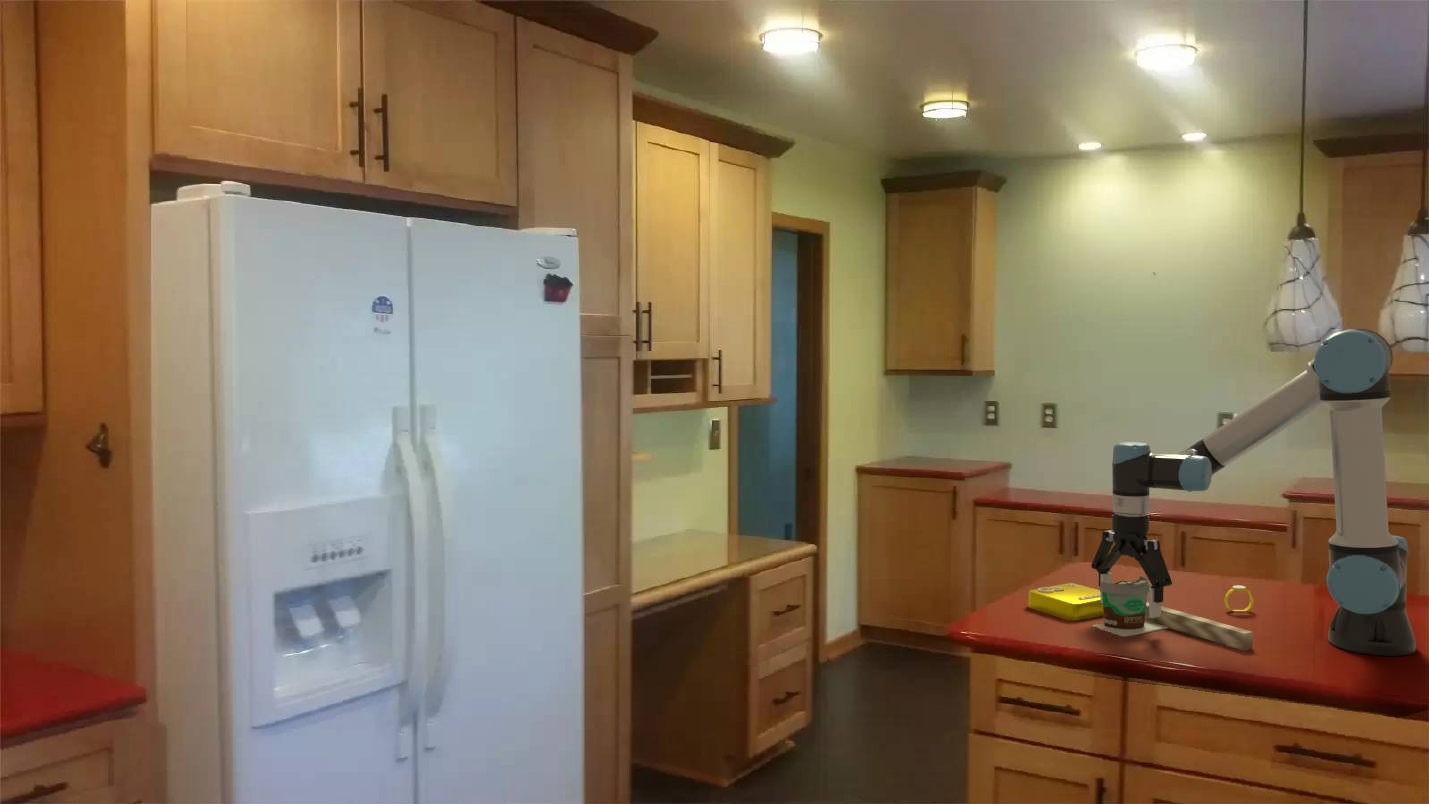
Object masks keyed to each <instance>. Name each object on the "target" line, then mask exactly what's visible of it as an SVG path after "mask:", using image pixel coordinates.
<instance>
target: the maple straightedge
mask: <svg viewBox="0 0 1429 804" xmlns="http://www.w3.org/2000/svg"><path fill="white" fill-rule="evenodd" d="M1145 620H1146V621H1150V622H1153V623H1156V624H1159V625H1163V626H1166V627H1168V628H1167V629H1170V630H1173V631H1176V632H1178V633H1181V634H1186V635H1189V636H1192V637H1194V638H1199V639H1202V640H1205V641H1209V642H1211V643H1215V644H1218V645H1221V646H1224V647H1225V646H1228V647H1231V648H1234V649H1237V650H1241V651H1243V652H1244V651H1248V650H1252V649H1253V645H1254V644H1253V640H1254V639H1253V638H1254V637H1253V635H1254V632H1253V631H1251V630H1248V629H1244V628H1241V627H1236V626H1233V625H1231V624H1230V625H1229V624H1226V623H1222V622H1220V621H1216V620H1212V619H1209V618H1205V617H1203V616H1202V617H1201V616H1198V615H1194V614H1190V613H1187V612H1183V611H1180V610H1176V609H1172V608H1169V607H1167V606H1162V605H1161V616H1160V617H1154V618H1150V617H1149V601H1147V602H1146V612H1145Z"/></svg>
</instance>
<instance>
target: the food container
mask: <svg viewBox="0 0 1429 804" xmlns="http://www.w3.org/2000/svg"><path fill="white" fill-rule="evenodd" d="M1150 583H1151V582H1150V581H1149V579H1148V577H1145V576H1142V575H1139V579H1136V580H1120V581H1117V582H1114V583H1112V584H1111V583H1105V582H1102V583H1101V586H1100V587H1099V590H1100V591H1101V592H1102V598H1103V611H1104V615H1103V623H1104V624H1105V626H1107V627H1111V628H1116V629H1139V628H1142V627H1144V622H1145V612H1146V602H1148V601H1147V600H1148V594H1149V587H1151V584H1150Z"/></svg>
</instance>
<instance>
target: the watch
mask: <svg viewBox="0 0 1429 804" xmlns="http://www.w3.org/2000/svg"><path fill="white" fill-rule="evenodd" d="M1236 591H1237V592H1246V593H1247V595H1249V603H1248V606H1247V607H1245V608H1244V609H1233V608H1231V606H1230V604H1229V599H1230V596H1231V595H1232V594H1233V593H1234V592H1236ZM1254 603H1255V598H1254V596H1253V594H1252V592H1251V591H1250V590H1248V589H1247V587H1246V586H1244V585H1240V584H1239V585H1238V584H1237V585H1233V586H1232V588H1230V589H1228V591H1227V592H1226V594H1225V596H1224V604H1225V606H1226V608H1227V609H1228V610H1230V611H1231V612H1232V611H1248V612H1250V611H1251V610H1252V608H1254V607H1253V606H1254Z"/></svg>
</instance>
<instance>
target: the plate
mask: <svg viewBox="0 0 1429 804" xmlns="http://www.w3.org/2000/svg"><path fill="white" fill-rule="evenodd" d="M1092 627H1093V628H1095V627H1097V628H1096V629H1098V628H1100V629H1099V630H1101V629H1103V630H1102V631H1104V630H1105V632H1107V631H1108V632H1107V633H1110V632H1111V634H1113V635H1116V634H1117V636H1119V637H1122V636H1123V638H1125V636H1126V637H1130V636H1135V635H1140V634H1146V633H1151V632H1155V631H1162V630H1167V629H1169V628H1168V627H1166V626H1163V625H1159V624H1156V623H1153V622H1150V621H1146V620H1145V622H1144V627H1142V628H1139V629H1116V628H1111V627H1107V626H1105V624H1104V622H1103V623H1098V624H1097V623H1096V624H1092V626H1091V628H1092Z"/></svg>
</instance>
